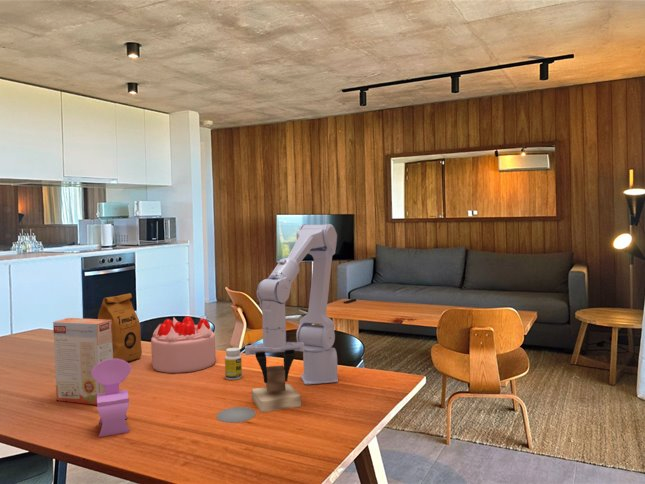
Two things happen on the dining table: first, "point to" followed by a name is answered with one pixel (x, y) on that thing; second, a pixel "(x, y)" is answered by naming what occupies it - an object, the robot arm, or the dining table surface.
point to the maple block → (276, 398)
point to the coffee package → (122, 327)
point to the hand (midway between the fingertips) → (275, 381)
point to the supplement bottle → (233, 364)
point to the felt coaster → (235, 414)
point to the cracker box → (80, 357)
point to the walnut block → (275, 378)
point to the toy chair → (112, 396)
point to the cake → (183, 346)
